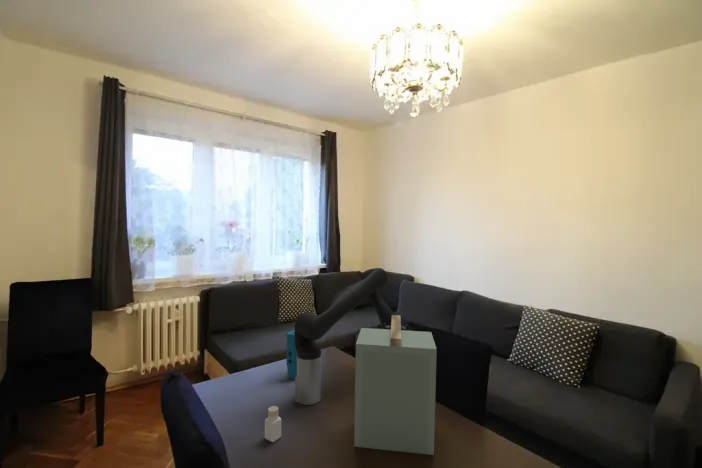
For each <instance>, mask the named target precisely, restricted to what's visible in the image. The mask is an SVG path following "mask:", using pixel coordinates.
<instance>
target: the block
mask: <svg viewBox="0 0 702 468" xmlns="http://www.w3.org/2000/svg"><path fill="white" fill-rule="evenodd" d="M286 368H287V375H288V378H290V379H293V380H295V377H296V375H297V351H296V348H295V331H294V329H292V330H291V331H289V332H287V333H286Z"/></svg>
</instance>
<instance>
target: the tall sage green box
mask: <svg viewBox="0 0 702 468" xmlns="http://www.w3.org/2000/svg"><path fill="white" fill-rule="evenodd" d="M390 338H391V330H388V329H378V328H369V327H368V328H367V327H361V328H360V331H359V334H358V337H357V340H356V343H355V372H354V373H355V374H354V375H355V379H354V380H355V381H354V382H355V383H354V385H355V386H354V425H353V426H354V429H353V430H354V434H353V435H354V436H353V437H354V439H353V447H356V448H364V449H375V450H383V451H391V452H394V451H395V452H403V453H411V454H413V453H414V454H422V455H431V456H434V454H435V428H436V427H435V424H436V421H435V420H436V391H437V389H436V386H437V381H436V380H437V352H438V351H437V345H436V342H435V340H434V336H433V334H432V331H418V330H414V331H405V330H401V347H396V346H390Z"/></svg>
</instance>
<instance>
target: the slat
mask: <svg viewBox="0 0 702 468" xmlns="http://www.w3.org/2000/svg"><path fill="white" fill-rule="evenodd" d="M401 323H402V322H401V315H398V314H396V315H394V314H393V315H392V321H391V338H390V346H396V347H401V327H402V325H401Z"/></svg>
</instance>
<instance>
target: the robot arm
mask: <svg viewBox="0 0 702 468" xmlns="http://www.w3.org/2000/svg"><path fill="white" fill-rule="evenodd" d="M387 280H388V273H387V272H386V270H385V269H383V268H381V267H375V268H370V269H367V270H365V271H364V272H362V274H361V280H360V281H356V282H355V283H353V284H350V285H348V286H346V287H344V288H343V289H342V290H340V291H338V292H337V293H336V294H335V295H334V296H333V297H332V300H331V302H330V306H329V308H328V309H326V310H325V311H324V312H322V313H320V314H318V315H317V314H314V313H313V314H312V313H310V312H302V313H300V314H298V316H297V318H295V319H296V320H295V322H294V329H293V330H294V331H295V348H296V351H297V375H296V377H295V379H294V402H295V403H298V404H300V405H305V406H312V405H315V404H318V403H319V402H320V401H321V393H322V392H321V388H322V387H321V386H322V384H321V381H322V379H321V377H322V375H321V374H322V372H321V371H322V366H321V365H322V348H321V347H320V345H319V344H318V343H317V342H316V341H317V340H320V339H321V338H323V336H325V335H326V334H327V332H329V331H330V330H331V329H332V328H333V326H334V325H336V324H337V323H338V322H339V321H340V320H341V319H342V318H344V317H345V316H346V315H347V314H349V313H350V312H351V311H353V310H355V308H357V306H359V305H360V304H361V303H362V302H363V301H364V300H366V299H367V298H369V300H370V302H371V304H372V306H373V308H374V310H375V312H376V314H377V318H378V321H379V323H380V324H377V329H388V330H391V321H392V315H394V313H393V311H392V309H391V308H390V306H389V305H388V304H387V303H386V302H385V300H384V299H383V298H382V297H381V295H380V293H379V290H380V289H381V288H382V287H384V286H385V285H386V283H387ZM401 330H405V331H415V327H413V326H411V327H410V325H409V324H405V325H401Z"/></svg>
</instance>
